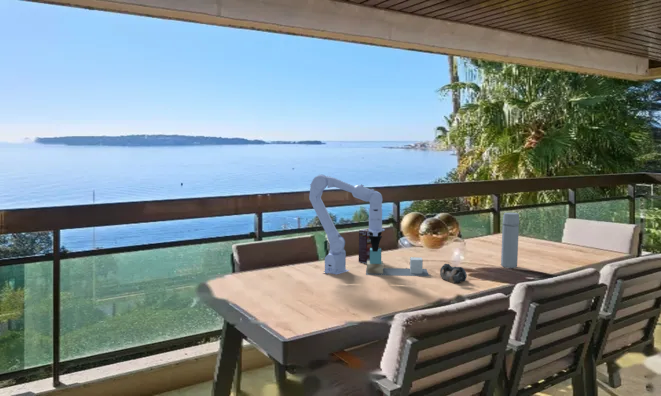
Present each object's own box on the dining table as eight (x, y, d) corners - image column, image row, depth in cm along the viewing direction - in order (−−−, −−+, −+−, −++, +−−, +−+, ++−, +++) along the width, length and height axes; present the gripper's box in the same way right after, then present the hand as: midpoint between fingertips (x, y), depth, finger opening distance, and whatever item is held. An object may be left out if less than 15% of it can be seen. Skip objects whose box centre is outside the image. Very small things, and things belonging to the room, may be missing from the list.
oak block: (366, 273, 220) (367, 264, 220) (367, 269, 227) (367, 260, 227) (383, 273, 220) (383, 264, 219) (382, 269, 227) (382, 260, 226)
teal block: (369, 263, 221) (369, 250, 220) (369, 261, 226) (370, 247, 225) (381, 263, 220) (381, 250, 220) (381, 261, 225) (381, 248, 225)
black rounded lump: (441, 278, 216) (432, 282, 207) (442, 261, 215) (433, 265, 207) (469, 282, 209) (461, 287, 201) (470, 265, 209) (462, 269, 200)
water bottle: (519, 269, 230) (521, 214, 227) (501, 268, 232) (503, 214, 229) (516, 264, 239) (518, 212, 236) (498, 263, 241) (500, 211, 238)
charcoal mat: (365, 276, 218) (365, 274, 218) (366, 268, 231) (366, 267, 230) (429, 277, 215) (429, 276, 215) (426, 270, 228) (426, 268, 228)
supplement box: (366, 264, 239) (366, 231, 237) (358, 263, 242) (358, 230, 240) (376, 261, 246) (376, 229, 244) (367, 259, 249) (368, 228, 247)
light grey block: (410, 273, 220) (411, 259, 219) (410, 270, 225) (410, 257, 224) (422, 273, 220) (422, 260, 219) (421, 270, 225) (421, 257, 224)
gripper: (384, 221, 214) (384, 253, 215) (384, 216, 228) (384, 246, 229) (368, 221, 214) (368, 252, 216) (368, 216, 229) (368, 246, 230)
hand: (375, 249), depth 222 cm, fingers open, 7 cm apart
